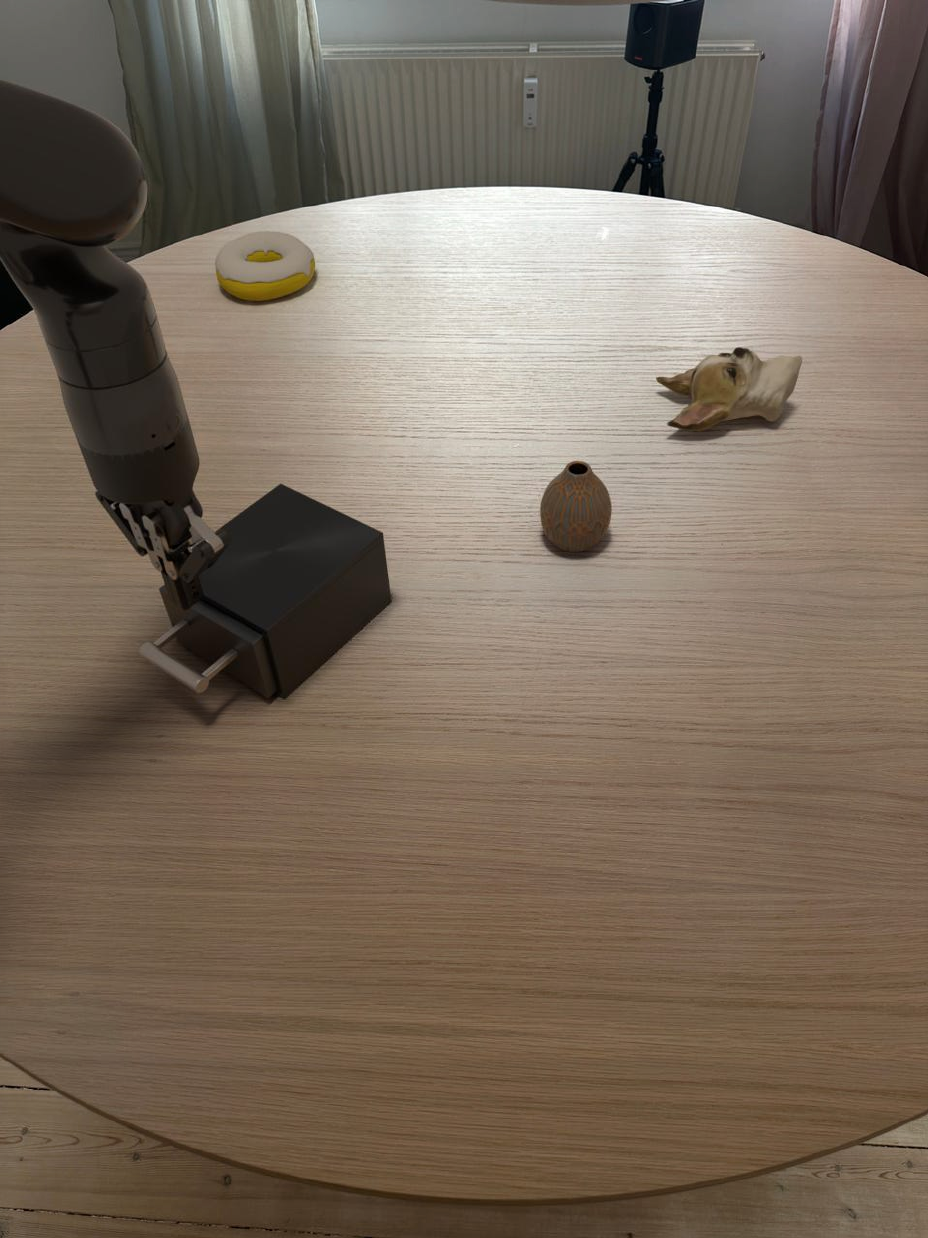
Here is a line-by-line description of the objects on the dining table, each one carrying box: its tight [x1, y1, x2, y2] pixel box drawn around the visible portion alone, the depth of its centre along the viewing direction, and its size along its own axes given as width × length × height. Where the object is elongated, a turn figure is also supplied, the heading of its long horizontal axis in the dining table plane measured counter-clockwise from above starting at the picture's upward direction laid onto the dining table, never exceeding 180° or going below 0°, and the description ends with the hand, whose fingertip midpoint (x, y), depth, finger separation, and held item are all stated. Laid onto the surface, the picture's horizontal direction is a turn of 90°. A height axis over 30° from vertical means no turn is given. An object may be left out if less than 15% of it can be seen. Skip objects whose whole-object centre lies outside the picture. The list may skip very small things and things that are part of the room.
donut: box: [214, 230, 316, 302], centre depth 137 cm, size 14×14×5 cm
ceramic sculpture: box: [655, 346, 803, 432], centre depth 109 cm, size 11×9×15 cm
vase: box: [539, 460, 613, 553], centre depth 95 cm, size 7×7×9 cm
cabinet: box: [198, 483, 392, 700], centre depth 89 cm, size 15×13×9 cm
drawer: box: [138, 584, 277, 699], centre depth 86 cm, size 18×11×7 cm, turn 143°
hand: (188, 601), depth 79 cm, fingers closed
